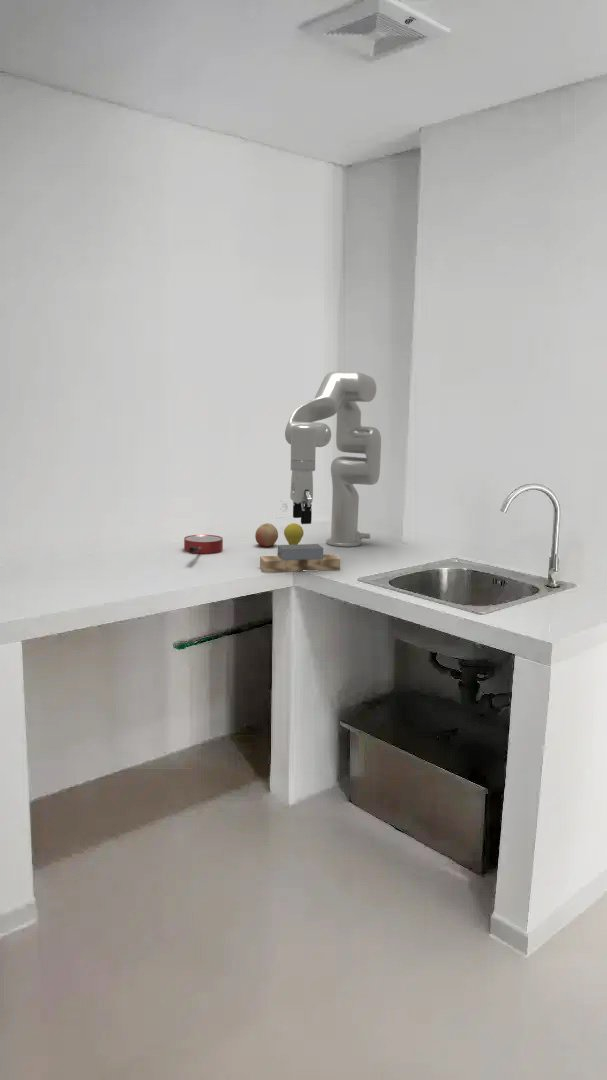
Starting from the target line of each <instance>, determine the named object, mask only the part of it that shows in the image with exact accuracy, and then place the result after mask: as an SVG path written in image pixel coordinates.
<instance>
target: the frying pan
mask: <svg viewBox="0 0 607 1080" xmlns="http://www.w3.org/2000/svg"><path fill="white" fill-rule="evenodd" d="M183 546H184V547H183V549H184V551H185V552H186V553H188V554H195V555H213V554H214V555H215V554H218V553H222V551H223V550H224V539H223V537H222V536H219V535H216V534H215V535H212V534H194V535H193V534H192V535H187V536H185V537H184V538H183Z"/></svg>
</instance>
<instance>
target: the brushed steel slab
mask: <svg viewBox="0 0 607 1080" xmlns="http://www.w3.org/2000/svg"><path fill="white" fill-rule="evenodd" d="M323 555H324V547H323V546H321V545H320V544H318V543H311V544H310V543H307V544H306V543H305V544H302V543H301V544H300V543H299V544H298V545H289V544H277V555H276V556H278V557H279V558H280V559H281V560H314V559H323Z"/></svg>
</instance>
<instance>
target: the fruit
mask: <svg viewBox="0 0 607 1080" xmlns="http://www.w3.org/2000/svg"><path fill="white" fill-rule="evenodd" d="M254 538H255V541H256V543H257V544H258V545H259V546H260V547H262V546H263V547H264V548H268V546H269V547H272V546H274V545H275V544H276V542H277V541H278V539H279V531H278V529H277V527H276V526H274V524H272V523H267V522H266V523H263V524H261V525H260V526H259V527H258V528H257V529H256V530H255V537H254ZM263 547H262V548H263Z"/></svg>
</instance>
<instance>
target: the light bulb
mask: <svg viewBox="0 0 607 1080" xmlns="http://www.w3.org/2000/svg"><path fill="white" fill-rule="evenodd" d="M283 535H284V537H285V540H286V542H287V543H288V545H299V544H300V542H301V540H302V538H303V537H304V529H303V527H302V526H301V525H300V524H298V523H293V522H292V523H289V524H287V525H286V527H285V528H284V531H283Z"/></svg>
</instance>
